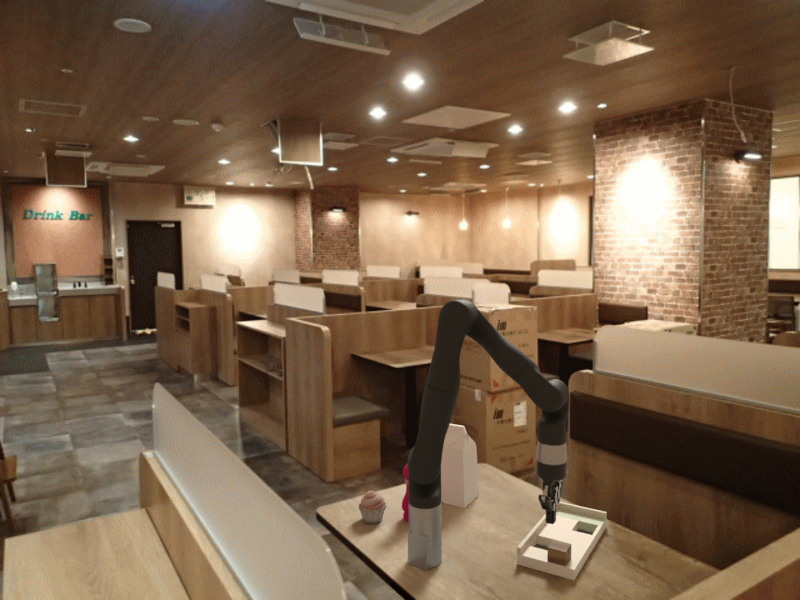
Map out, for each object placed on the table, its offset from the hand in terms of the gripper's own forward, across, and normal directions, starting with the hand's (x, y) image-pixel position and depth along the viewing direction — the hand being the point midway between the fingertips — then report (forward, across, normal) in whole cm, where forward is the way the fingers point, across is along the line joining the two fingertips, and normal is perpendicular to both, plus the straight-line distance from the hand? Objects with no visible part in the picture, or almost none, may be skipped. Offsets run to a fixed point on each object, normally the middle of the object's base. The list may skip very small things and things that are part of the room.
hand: (550, 522), depth 162 cm
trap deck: (+17, +22, +3) cm, 28 cm away
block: (+14, +8, 0) cm, 16 cm away
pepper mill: (+17, +14, +50) cm, 55 cm away
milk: (+17, +35, +45) cm, 59 cm away
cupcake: (+17, +7, +61) cm, 64 cm away
